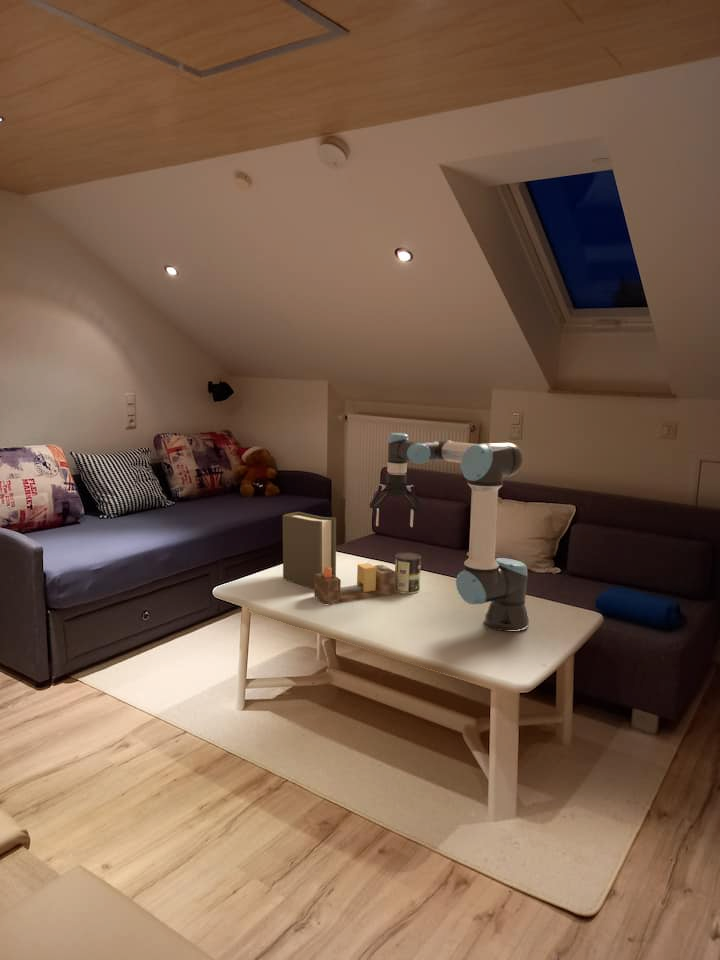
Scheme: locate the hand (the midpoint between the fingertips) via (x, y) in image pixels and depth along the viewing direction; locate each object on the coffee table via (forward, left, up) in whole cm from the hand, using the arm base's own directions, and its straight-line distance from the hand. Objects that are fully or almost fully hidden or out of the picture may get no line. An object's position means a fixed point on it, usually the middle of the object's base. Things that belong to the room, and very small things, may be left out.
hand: (394, 525), depth 280 cm
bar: (-1, +18, -24) cm, 30 cm away
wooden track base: (-1, +18, -26) cm, 31 cm away
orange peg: (-1, +30, -19) cm, 35 cm away
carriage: (-1, +13, -24) cm, 27 cm away
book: (+20, +28, -26) cm, 43 cm away
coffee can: (-4, -4, -26) cm, 27 cm away
